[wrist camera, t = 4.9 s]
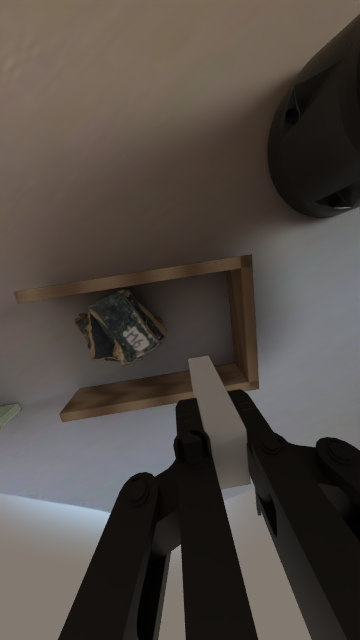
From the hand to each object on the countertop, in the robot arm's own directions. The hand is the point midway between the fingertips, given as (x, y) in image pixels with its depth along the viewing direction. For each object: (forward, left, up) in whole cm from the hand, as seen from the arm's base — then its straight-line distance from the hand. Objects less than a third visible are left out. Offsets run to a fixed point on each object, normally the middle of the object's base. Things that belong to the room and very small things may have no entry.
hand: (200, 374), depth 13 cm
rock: (-5, -10, -13) cm, 17 cm away
